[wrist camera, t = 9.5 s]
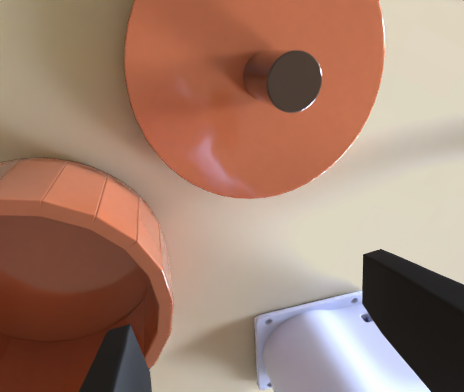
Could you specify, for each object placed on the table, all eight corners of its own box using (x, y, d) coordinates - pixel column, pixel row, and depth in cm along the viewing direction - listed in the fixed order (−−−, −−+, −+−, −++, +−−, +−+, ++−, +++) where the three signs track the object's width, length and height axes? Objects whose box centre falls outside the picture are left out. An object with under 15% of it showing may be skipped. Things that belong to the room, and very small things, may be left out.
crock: (131, 132, 17) (127, 163, 12) (186, 307, 22) (197, 373, 18) (-138, 192, 15) (-260, 255, 10) (-7, 367, 20) (-49, 457, 16)
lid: (376, -105, 15) (463, -163, 11) (369, 162, 21) (425, 190, 17) (81, -65, 13) (52, -118, 9) (165, 216, 19) (172, 262, 15)
